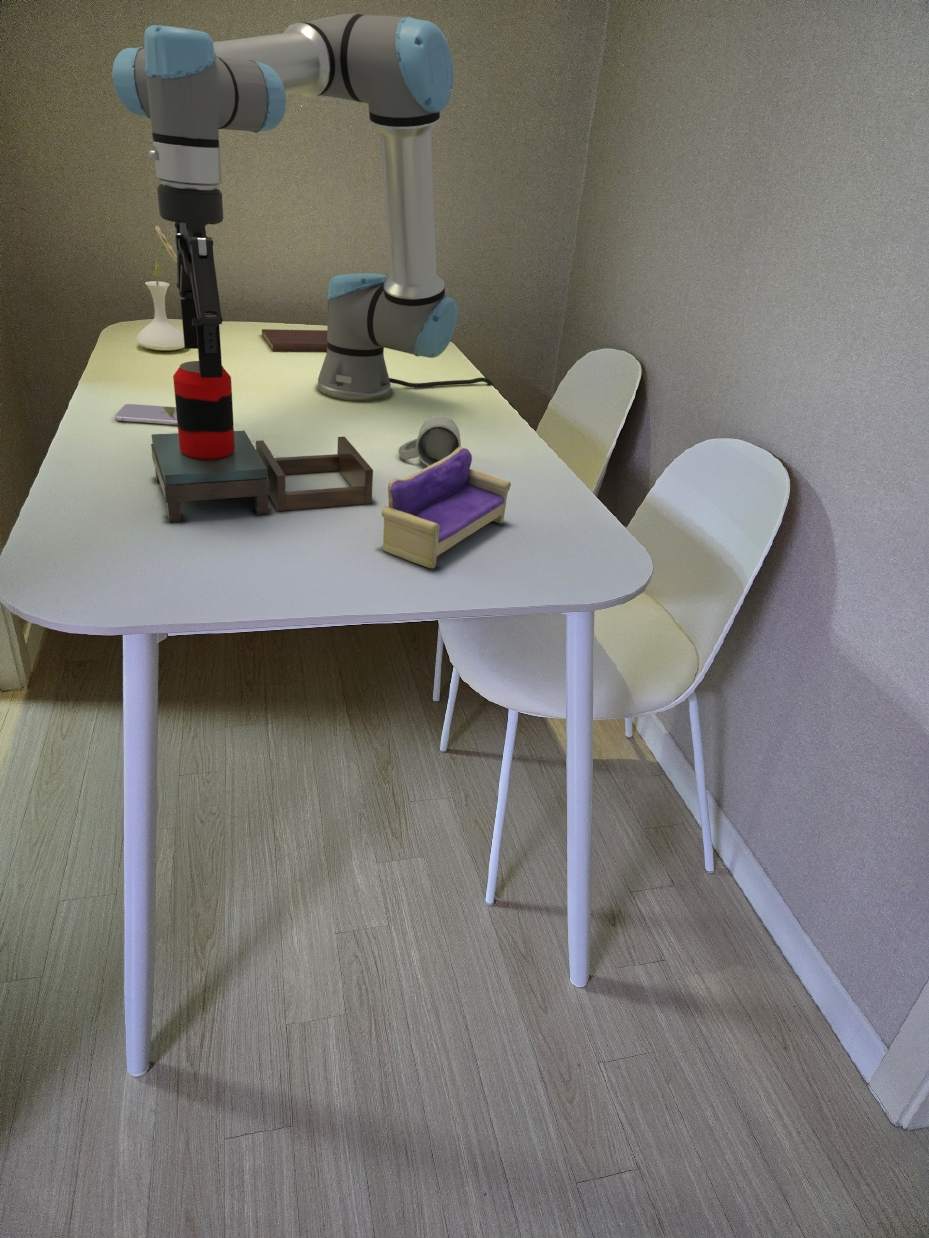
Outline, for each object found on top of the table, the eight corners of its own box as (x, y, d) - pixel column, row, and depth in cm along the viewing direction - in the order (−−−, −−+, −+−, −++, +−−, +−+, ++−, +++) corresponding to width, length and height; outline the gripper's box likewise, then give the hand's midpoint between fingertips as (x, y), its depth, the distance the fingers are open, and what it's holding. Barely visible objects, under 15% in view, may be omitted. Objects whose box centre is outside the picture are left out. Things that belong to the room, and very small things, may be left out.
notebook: (261, 335, 199) (261, 327, 198) (338, 336, 206) (338, 328, 205) (273, 351, 188) (272, 343, 187) (354, 352, 195) (354, 344, 194)
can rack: (343, 467, 132) (344, 436, 129) (371, 503, 122) (373, 469, 119) (256, 473, 127) (255, 440, 124) (277, 511, 116) (277, 476, 113)
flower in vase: (180, 357, 176) (170, 233, 163) (128, 351, 175) (114, 226, 162) (198, 343, 187) (190, 226, 174) (149, 337, 187) (137, 220, 173)
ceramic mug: (458, 453, 143) (461, 412, 139) (458, 470, 136) (462, 427, 132) (399, 449, 143) (401, 407, 139) (397, 466, 136) (399, 422, 132)
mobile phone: (124, 402, 145) (209, 408, 147) (125, 407, 145) (209, 413, 147) (113, 415, 138) (202, 421, 140) (113, 421, 139) (202, 427, 141)
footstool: (247, 472, 127) (245, 429, 123) (270, 514, 115) (269, 469, 111) (154, 478, 121) (149, 433, 117) (168, 523, 109) (163, 475, 105)
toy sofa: (430, 572, 105) (437, 502, 100) (377, 551, 109) (381, 482, 103) (506, 523, 121) (516, 459, 115) (458, 506, 124) (465, 443, 119)
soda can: (221, 464, 111) (215, 378, 104) (170, 455, 111) (161, 369, 105) (243, 446, 117) (239, 364, 111) (194, 438, 118) (188, 356, 111)
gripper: (145, 171, 104) (161, 337, 115) (170, 196, 85) (187, 391, 97) (204, 176, 107) (215, 337, 118) (241, 200, 88) (249, 389, 100)
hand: (202, 362), depth 108 cm, fingers open, 13 cm apart
